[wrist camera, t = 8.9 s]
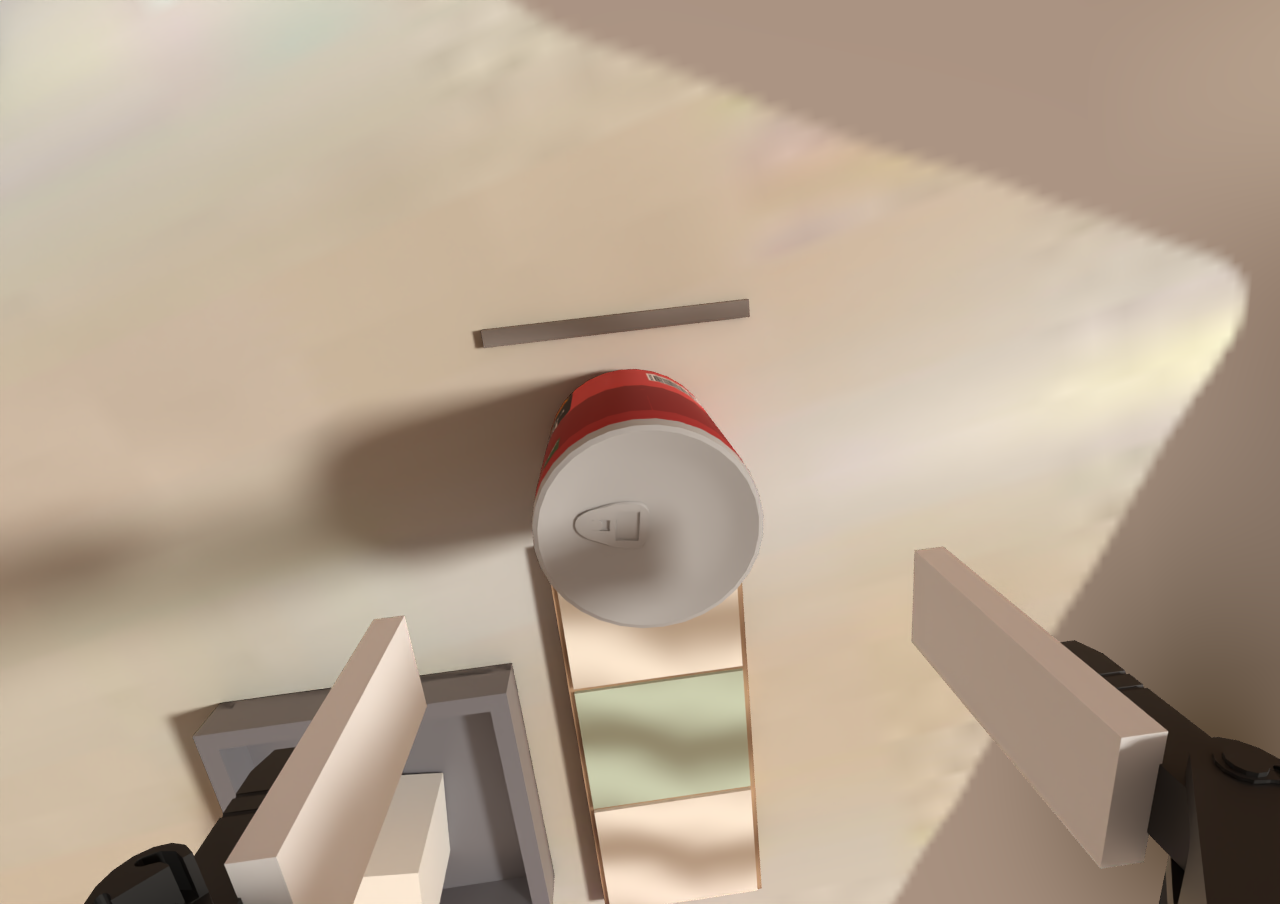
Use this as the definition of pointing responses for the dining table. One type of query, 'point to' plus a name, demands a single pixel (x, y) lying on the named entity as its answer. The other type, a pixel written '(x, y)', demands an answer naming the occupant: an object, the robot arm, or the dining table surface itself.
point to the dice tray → (445, 743)
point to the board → (661, 714)
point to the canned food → (643, 504)
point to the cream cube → (410, 846)
